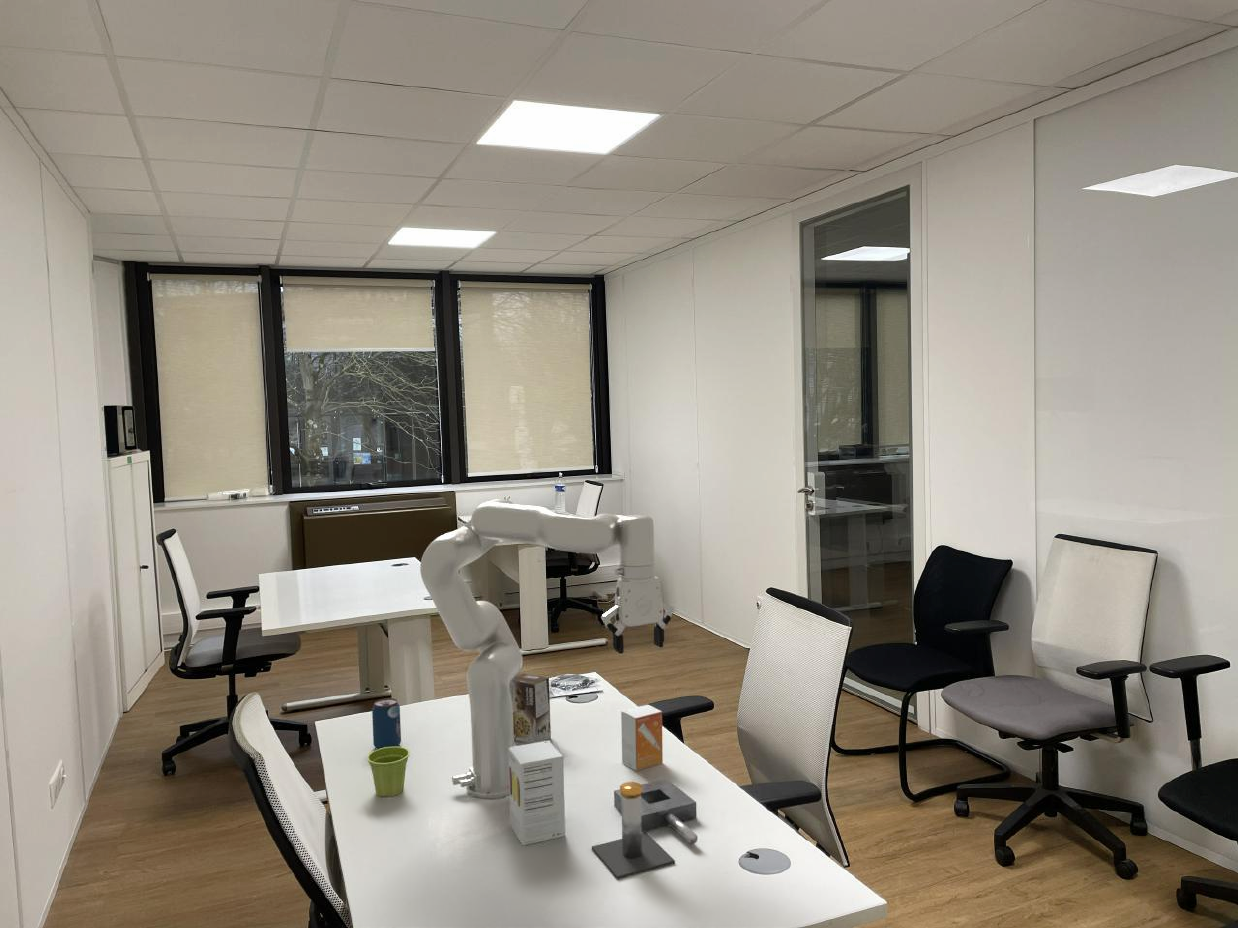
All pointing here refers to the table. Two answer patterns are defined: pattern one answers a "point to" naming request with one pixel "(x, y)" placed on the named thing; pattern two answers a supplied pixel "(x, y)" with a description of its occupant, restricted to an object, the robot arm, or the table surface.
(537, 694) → the coffee box
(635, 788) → the gold capped metal cylinder
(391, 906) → the table surface
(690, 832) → the block
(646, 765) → the small box
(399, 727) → the soda can
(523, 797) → the supplement box
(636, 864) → the pad
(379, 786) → the plant pot
